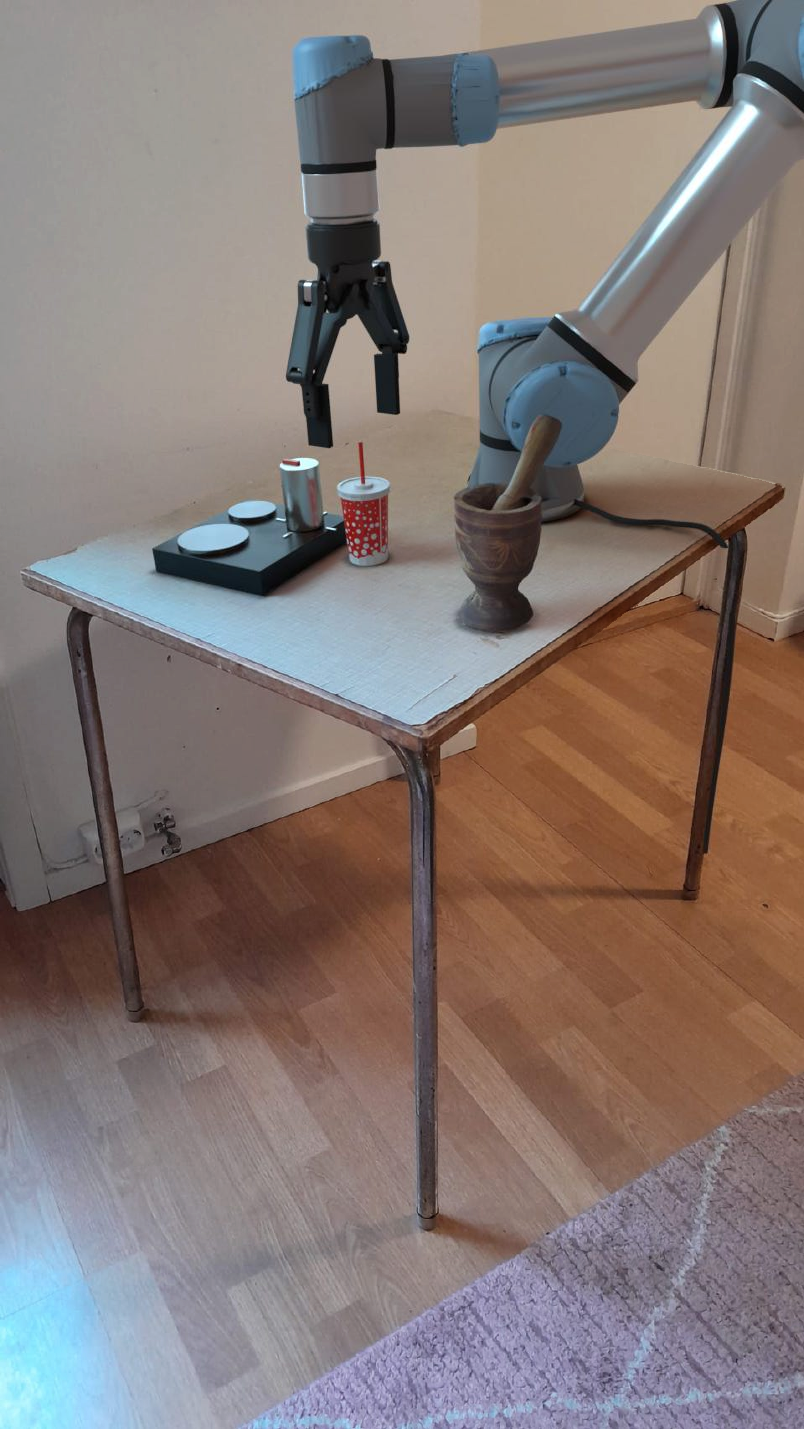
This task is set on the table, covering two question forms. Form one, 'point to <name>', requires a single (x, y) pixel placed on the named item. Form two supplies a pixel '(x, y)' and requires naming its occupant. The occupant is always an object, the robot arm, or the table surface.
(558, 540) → the table surface
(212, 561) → the hob
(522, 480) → the mortar and pestle
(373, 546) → the beverage cup
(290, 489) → the knob
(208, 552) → the hot plates
